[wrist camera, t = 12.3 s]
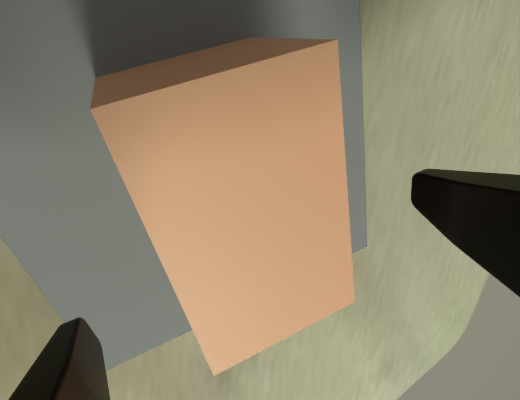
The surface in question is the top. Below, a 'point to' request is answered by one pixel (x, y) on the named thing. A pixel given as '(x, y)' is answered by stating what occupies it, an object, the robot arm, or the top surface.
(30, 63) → the grey mat
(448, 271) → the top surface
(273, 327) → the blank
